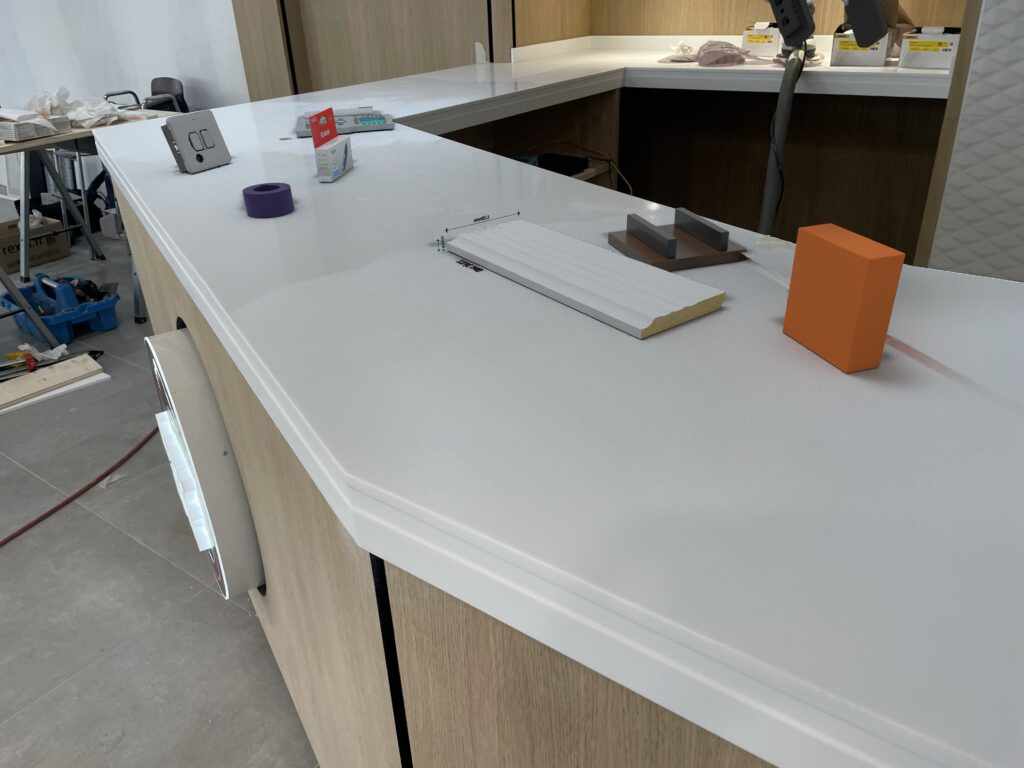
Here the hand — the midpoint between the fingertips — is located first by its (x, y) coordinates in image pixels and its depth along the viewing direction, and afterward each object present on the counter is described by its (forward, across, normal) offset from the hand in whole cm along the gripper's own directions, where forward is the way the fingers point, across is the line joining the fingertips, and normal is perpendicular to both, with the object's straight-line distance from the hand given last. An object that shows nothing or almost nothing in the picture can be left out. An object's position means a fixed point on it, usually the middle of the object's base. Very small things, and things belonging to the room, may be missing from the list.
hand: (839, 41), depth 54 cm
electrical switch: (-39, -29, +96) cm, 108 cm away
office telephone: (-55, +6, +114) cm, 127 cm away
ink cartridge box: (-28, -12, +78) cm, 84 cm away
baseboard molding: (+7, -10, +29) cm, 32 cm away
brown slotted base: (+7, +4, +28) cm, 29 cm away
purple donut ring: (-20, -27, +69) cm, 76 cm away
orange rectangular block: (+22, -2, +8) cm, 23 cm away
